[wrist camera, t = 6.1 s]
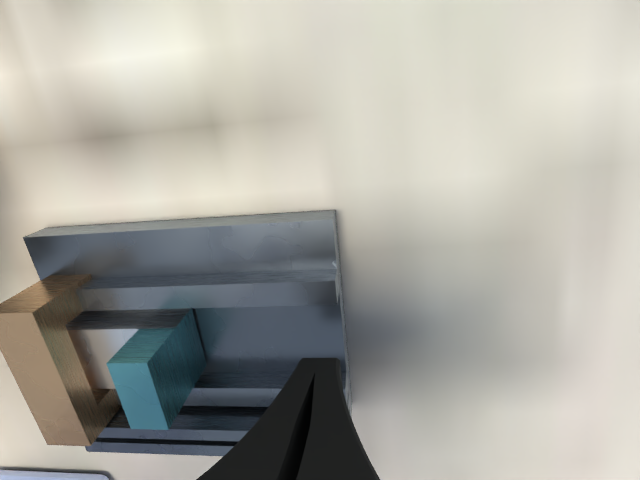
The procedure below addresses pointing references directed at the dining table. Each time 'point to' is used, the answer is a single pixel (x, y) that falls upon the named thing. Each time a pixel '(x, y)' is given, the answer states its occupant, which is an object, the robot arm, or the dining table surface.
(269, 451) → the robot arm
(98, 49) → the dining table surface
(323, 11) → the dining table surface
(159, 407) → the white and teal block
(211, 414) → the base
